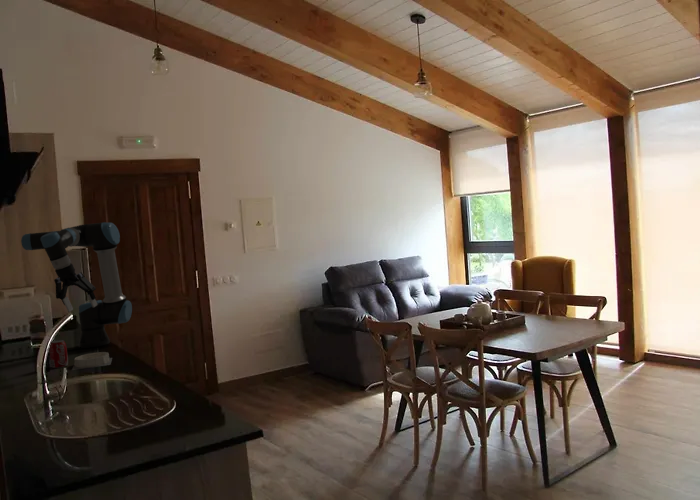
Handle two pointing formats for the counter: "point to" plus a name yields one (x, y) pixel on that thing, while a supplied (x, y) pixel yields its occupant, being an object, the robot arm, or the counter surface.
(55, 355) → the soda can
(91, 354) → the bowl
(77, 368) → the mat
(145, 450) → the counter surface
